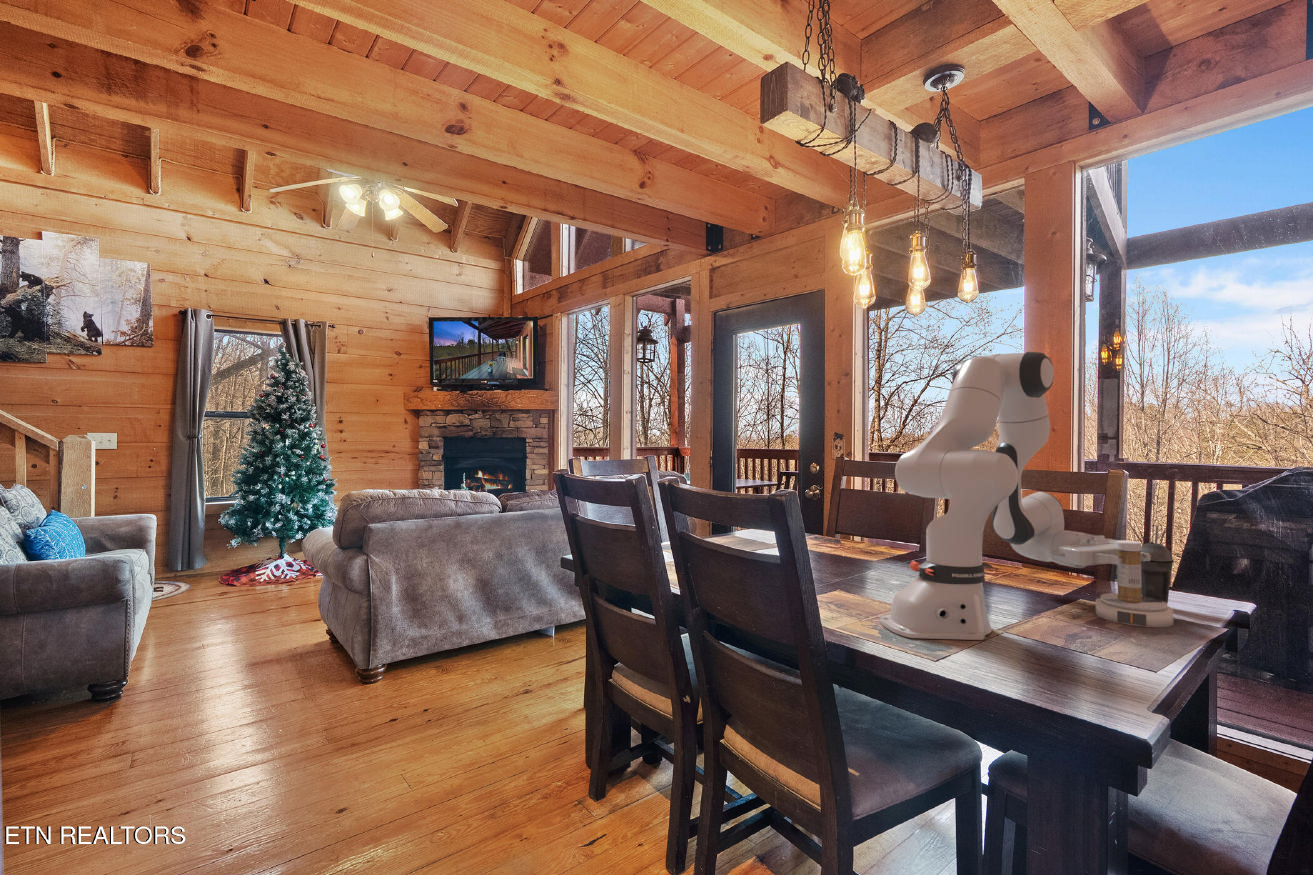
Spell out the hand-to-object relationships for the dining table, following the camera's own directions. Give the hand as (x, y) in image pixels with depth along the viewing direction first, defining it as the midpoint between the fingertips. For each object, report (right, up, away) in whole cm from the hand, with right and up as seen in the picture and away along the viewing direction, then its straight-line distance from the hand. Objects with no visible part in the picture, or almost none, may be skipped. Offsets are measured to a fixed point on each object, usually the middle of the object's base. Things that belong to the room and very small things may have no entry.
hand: (1134, 559), depth 139 cm
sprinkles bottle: (-1, -10, 0) cm, 10 cm away
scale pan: (0, -10, 0) cm, 10 cm away
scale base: (0, -14, 0) cm, 14 cm away
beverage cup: (+12, -14, +9) cm, 21 cm away
